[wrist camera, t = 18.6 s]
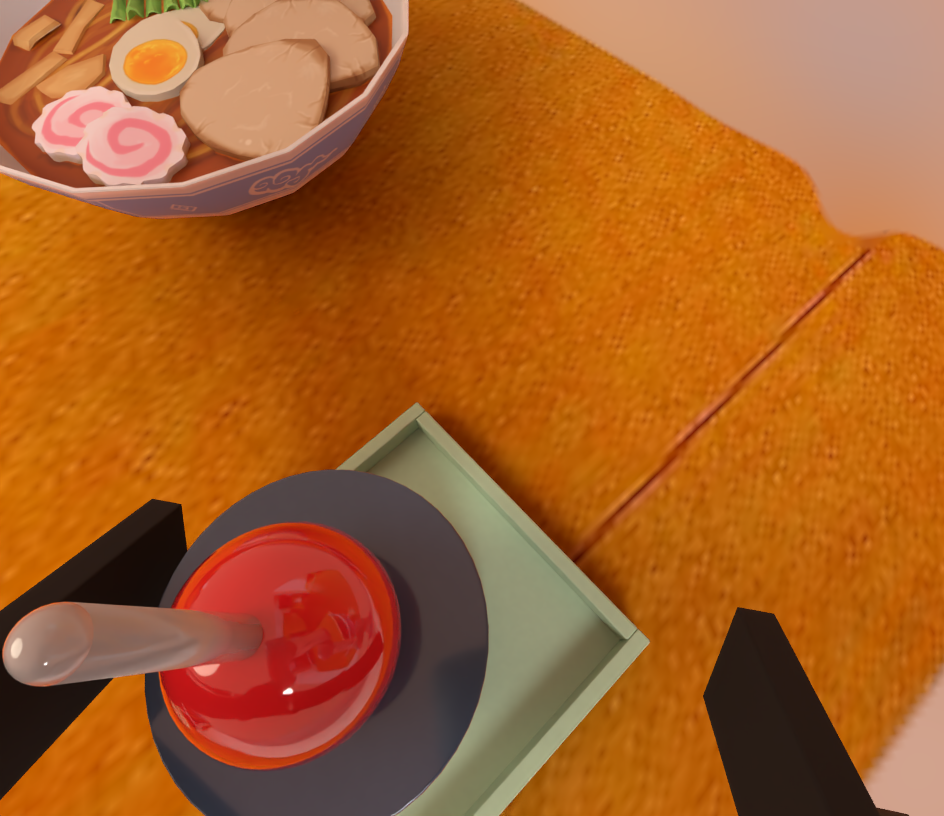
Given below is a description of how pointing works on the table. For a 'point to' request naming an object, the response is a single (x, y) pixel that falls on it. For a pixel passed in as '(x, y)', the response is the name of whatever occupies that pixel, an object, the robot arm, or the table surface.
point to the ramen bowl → (188, 96)
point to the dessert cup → (294, 650)
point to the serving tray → (508, 622)
